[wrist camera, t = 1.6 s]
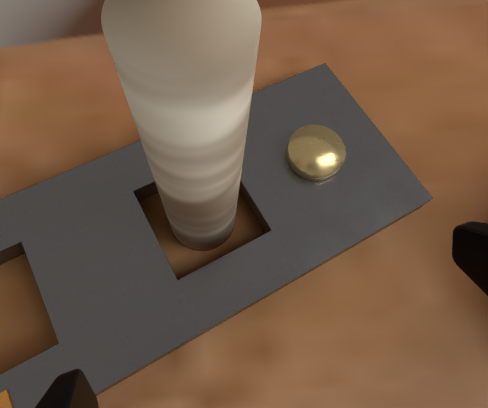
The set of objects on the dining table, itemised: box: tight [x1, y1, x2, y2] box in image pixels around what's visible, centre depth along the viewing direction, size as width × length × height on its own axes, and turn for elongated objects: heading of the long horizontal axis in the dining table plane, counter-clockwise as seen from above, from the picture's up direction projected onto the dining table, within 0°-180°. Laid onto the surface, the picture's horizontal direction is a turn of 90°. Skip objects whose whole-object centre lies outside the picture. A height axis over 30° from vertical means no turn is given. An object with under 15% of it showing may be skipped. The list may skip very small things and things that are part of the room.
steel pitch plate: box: [0, 63, 433, 408], centre depth 22 cm, size 30×12×2 cm, turn 120°
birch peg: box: [101, 0, 261, 251], centre depth 16 cm, size 4×4×15 cm
